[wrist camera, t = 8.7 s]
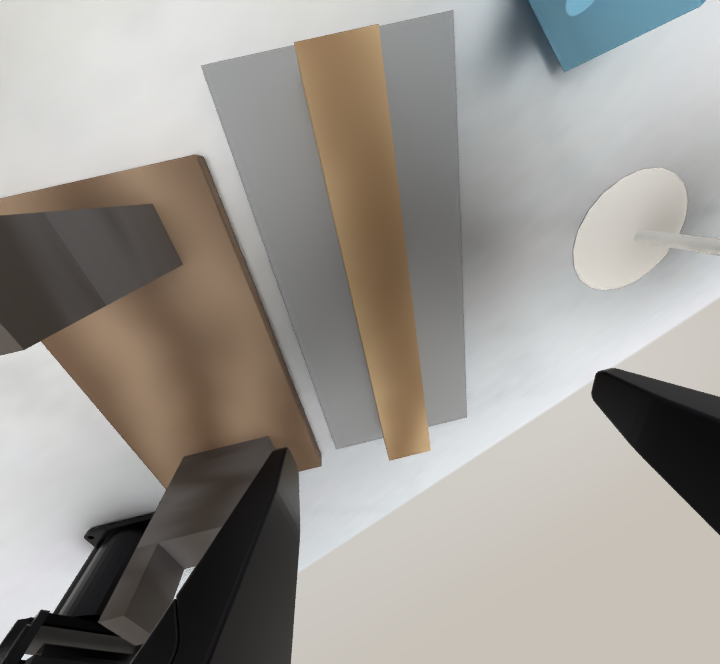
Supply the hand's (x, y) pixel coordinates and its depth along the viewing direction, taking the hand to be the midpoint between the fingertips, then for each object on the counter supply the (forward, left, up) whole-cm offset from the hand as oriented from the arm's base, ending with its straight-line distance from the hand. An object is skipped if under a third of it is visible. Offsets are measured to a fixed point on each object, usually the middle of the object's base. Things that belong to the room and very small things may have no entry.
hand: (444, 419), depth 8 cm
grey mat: (0, 0, -11) cm, 11 cm away
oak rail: (0, 0, -11) cm, 11 cm away
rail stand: (-13, -2, -11) cm, 17 cm away
